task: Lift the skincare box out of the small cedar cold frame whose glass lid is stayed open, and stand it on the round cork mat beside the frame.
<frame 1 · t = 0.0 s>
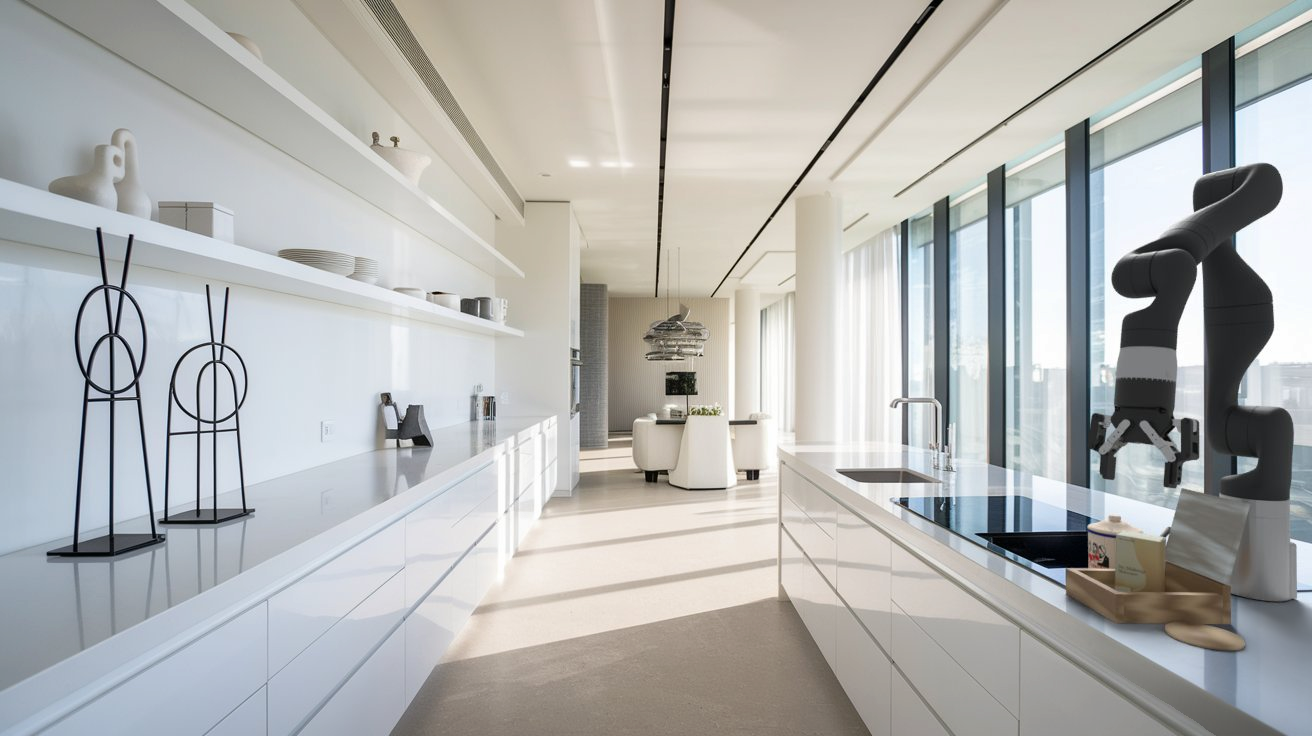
hand: (1137, 483, 99), 22 cm above the counter, tool pointing down, fingers open, 8 cm apart
skincare box: (1140, 609, 108), resting in cold frame
teacup with lid: (1119, 579, 124), on the counter
cork mat: (1203, 637, 96), on the counter
cold frame: (1143, 607, 108), on the counter
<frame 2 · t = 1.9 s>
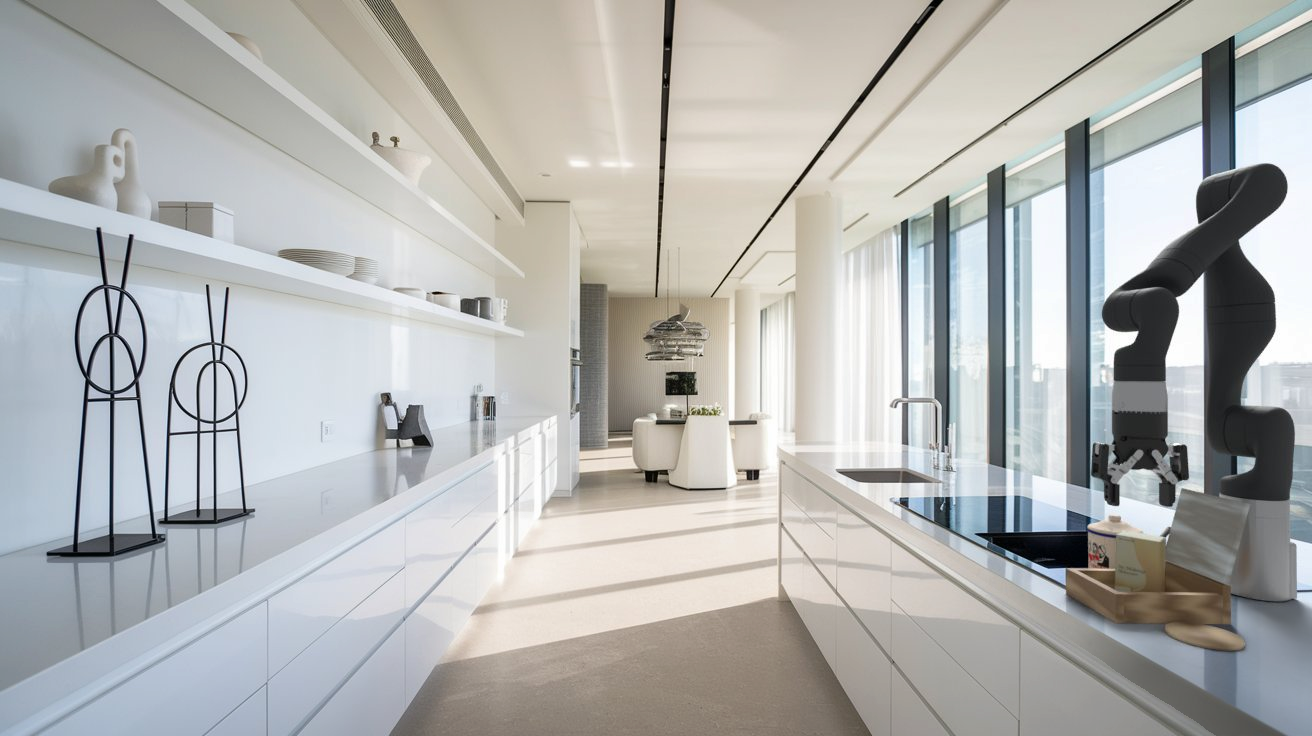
hand: (1139, 505, 108), 17 cm above the counter, tool pointing down, fingers open, 8 cm apart
nothing on the counter moved.
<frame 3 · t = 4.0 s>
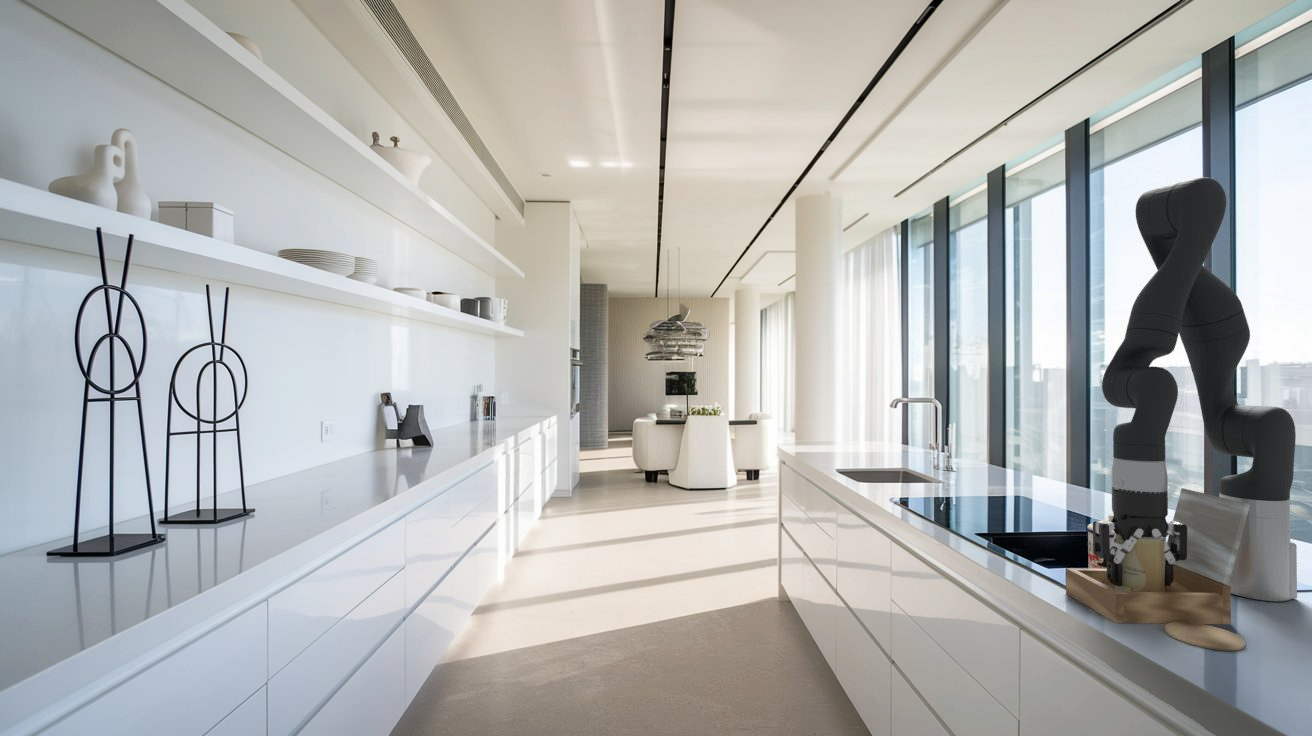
hand: (1139, 584, 108), 4 cm above the counter, tool pointing down, fingers closed on skincare box, 7 cm apart
skincare box: (1140, 609, 108), resting in cold frame, touching gripper
everything else where it was.
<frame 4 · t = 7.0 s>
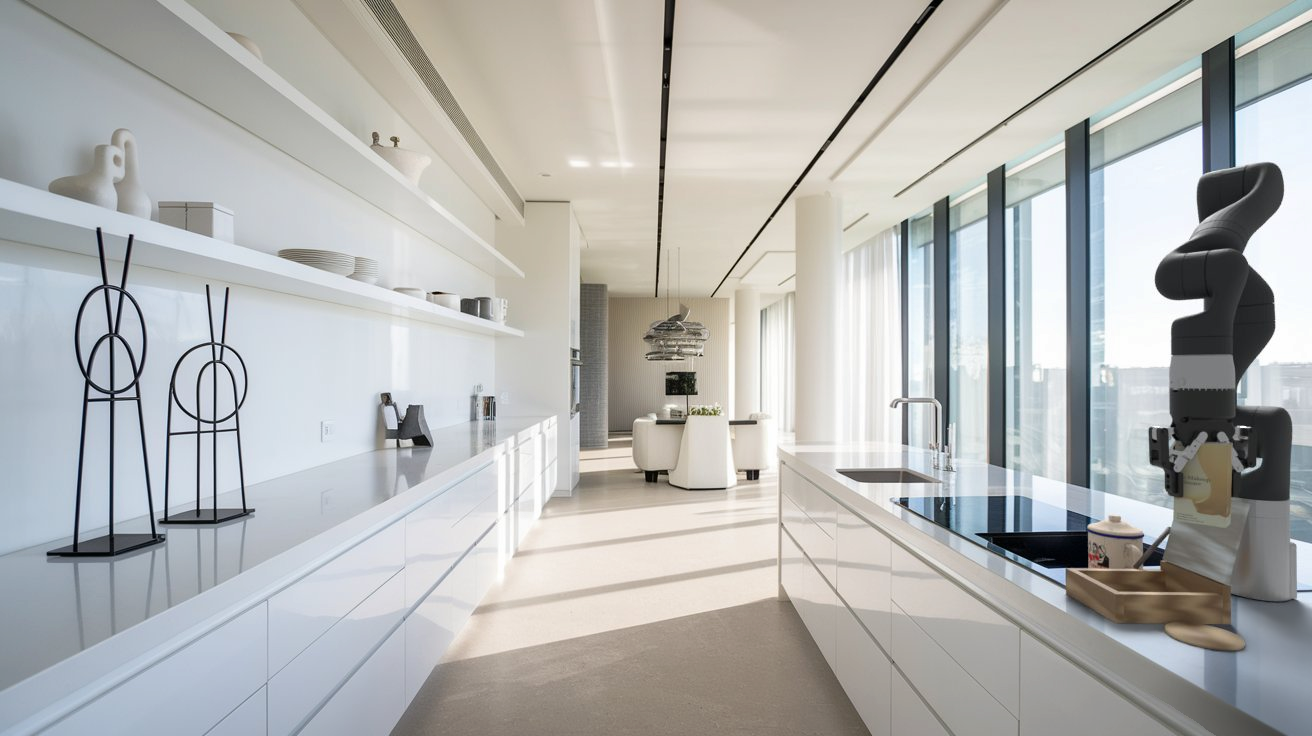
hand: (1202, 496, 96), 21 cm above the counter, tool pointing down, fingers closed on skincare box, 7 cm apart
skincare box: (1202, 524, 96), point 17 cm above the counter, touching gripper
everything else where it was.
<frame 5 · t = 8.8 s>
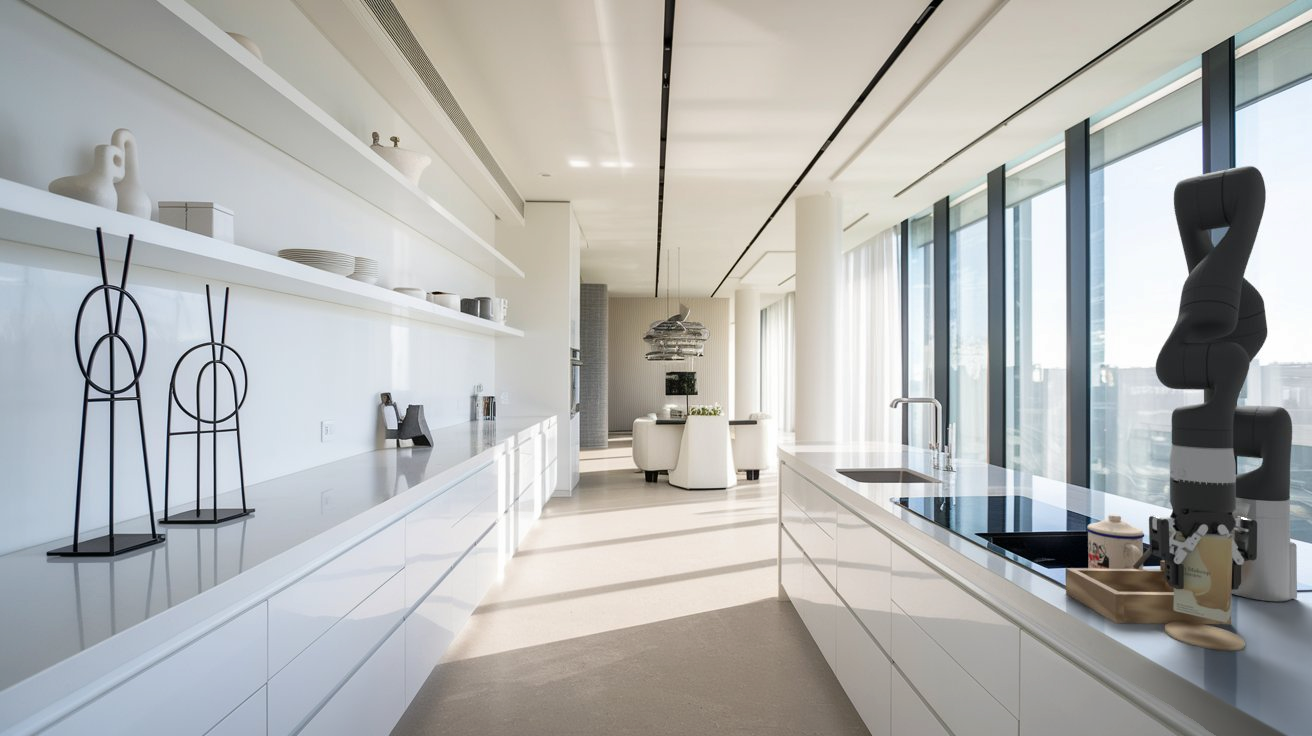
hand: (1202, 587, 96), 7 cm above the counter, tool pointing down, fingers closed on skincare box, 7 cm apart
skincare box: (1203, 615, 96), point 3 cm above the counter, touching gripper
everything else where it was.
when the fingers open (6 cm above the counter, at t = 10.2 s): skincare box drops 1 cm, resting on cork mat.
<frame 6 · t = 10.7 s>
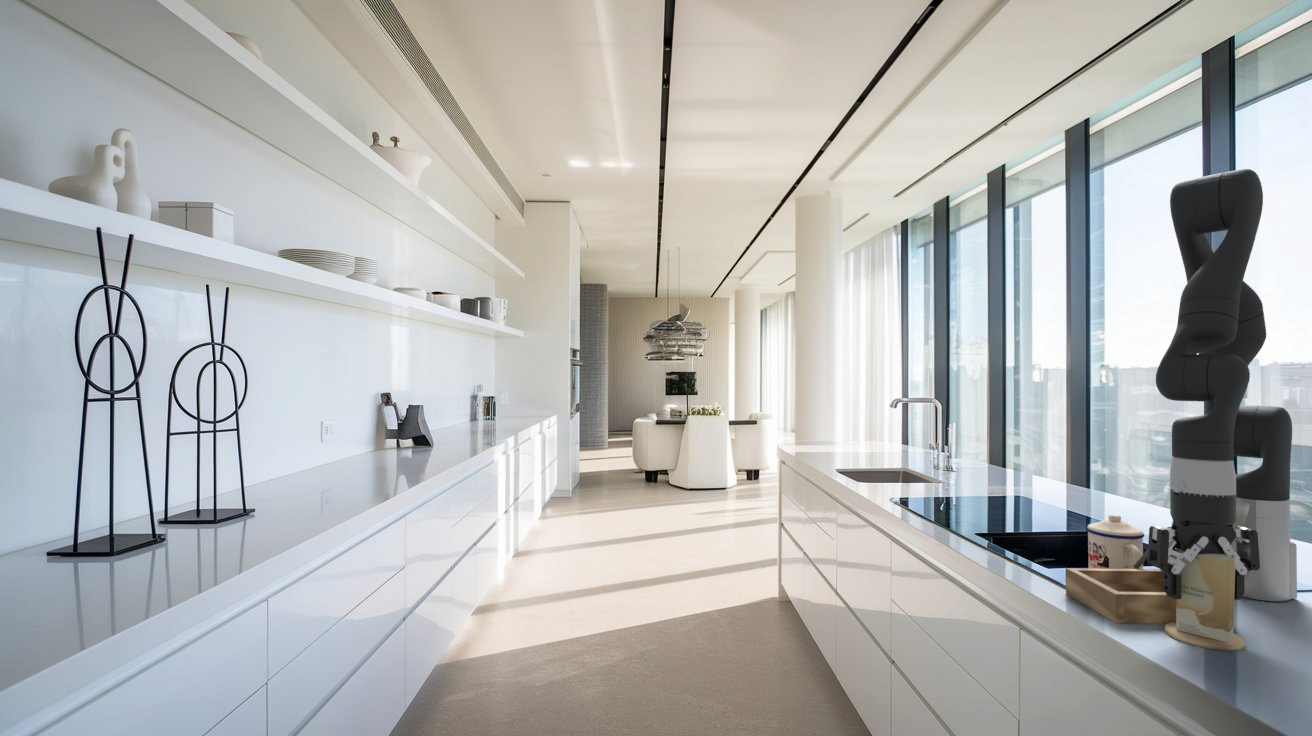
hand: (1203, 597, 96), 6 cm above the counter, tool pointing down, fingers open, 8 cm apart
skincare box: (1205, 634, 96), resting on cork mat
everything else where it was.
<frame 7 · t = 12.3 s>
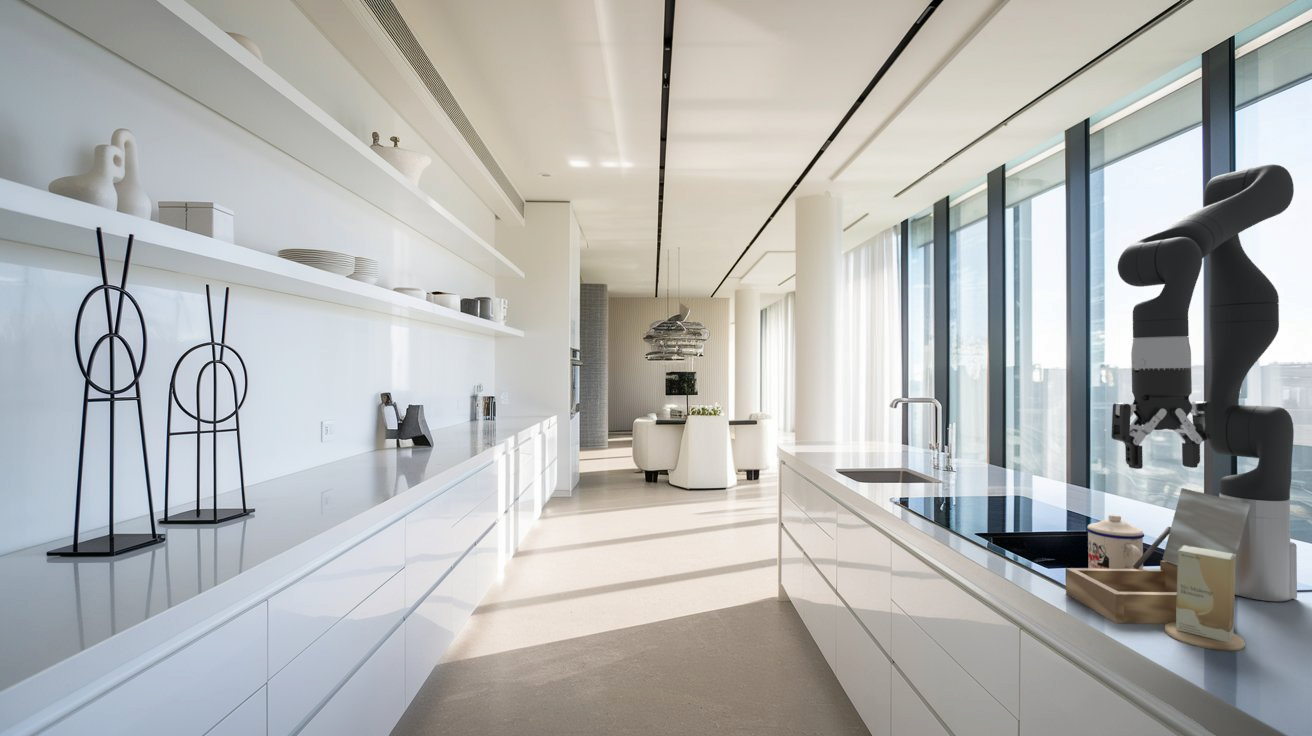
hand: (1162, 467, 103), 24 cm above the counter, tool pointing down, fingers open, 8 cm apart
nothing on the counter moved.
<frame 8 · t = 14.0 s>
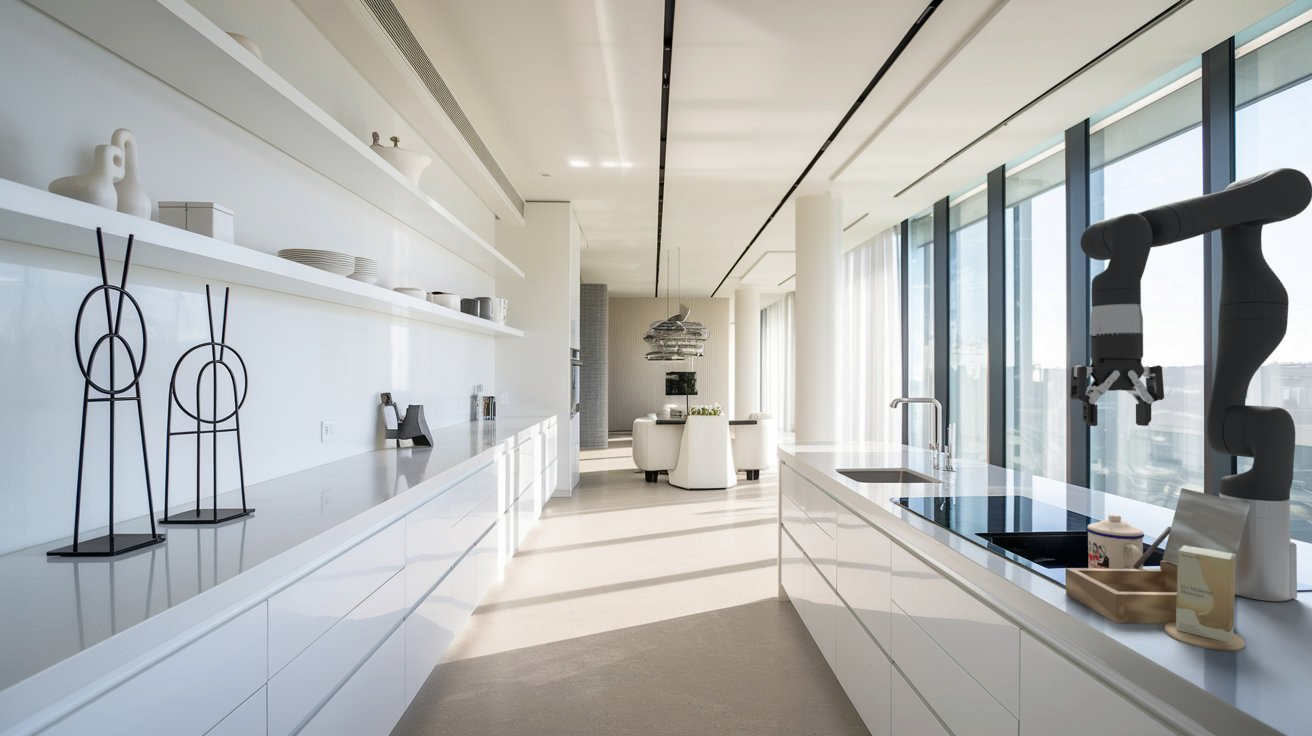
hand: (1116, 425, 112), 30 cm above the counter, tool pointing down, fingers open, 8 cm apart
nothing on the counter moved.
at the end: skincare box 0.3 cm from the cork mat (horizontally); skincare box tilted 0°; the gripper is holding nothing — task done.
